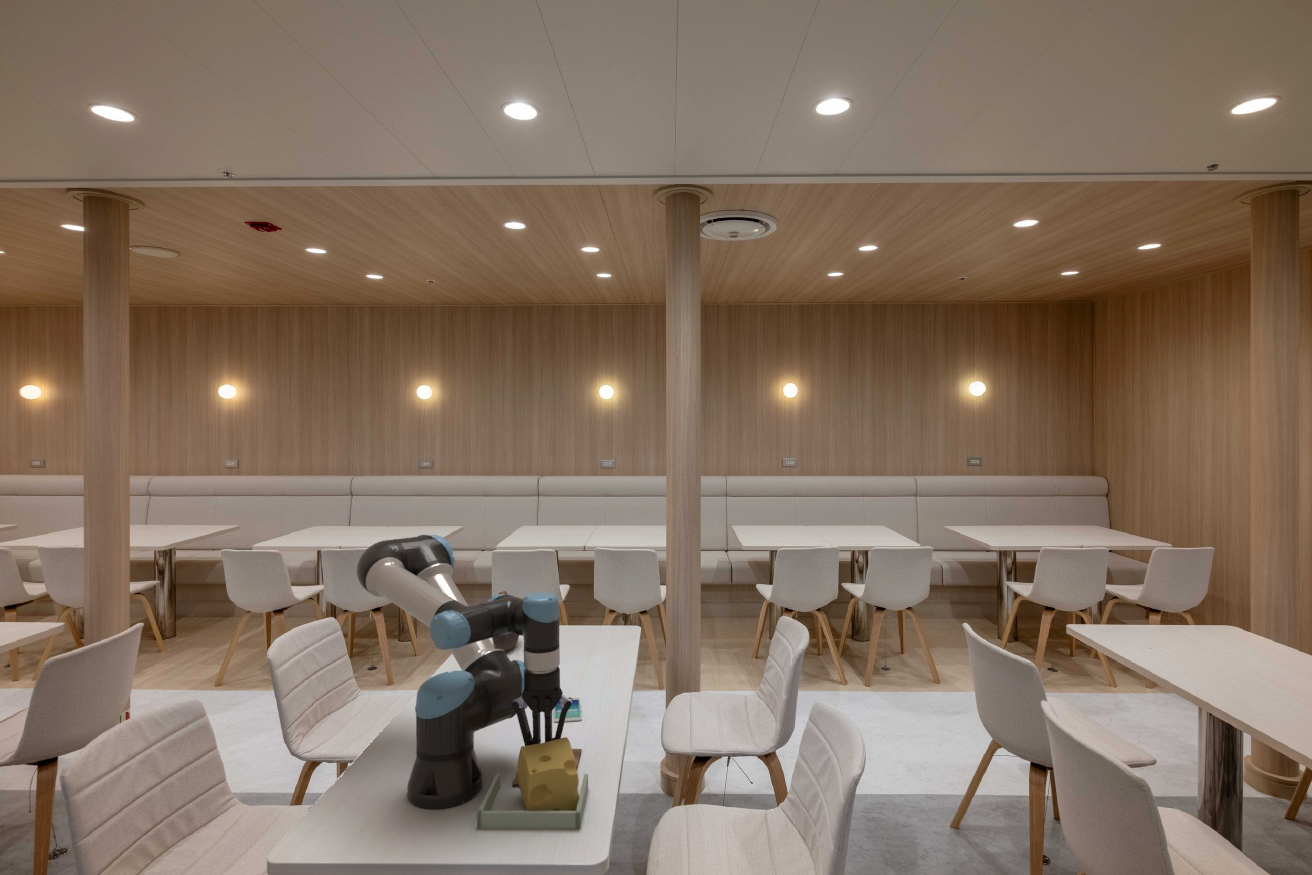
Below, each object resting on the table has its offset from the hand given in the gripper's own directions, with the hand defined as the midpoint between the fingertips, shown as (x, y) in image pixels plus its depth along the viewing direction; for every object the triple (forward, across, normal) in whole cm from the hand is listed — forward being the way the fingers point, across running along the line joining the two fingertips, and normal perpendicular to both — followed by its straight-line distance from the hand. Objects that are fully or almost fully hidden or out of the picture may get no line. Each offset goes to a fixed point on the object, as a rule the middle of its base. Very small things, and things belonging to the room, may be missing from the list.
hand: (543, 777), depth 144 cm
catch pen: (+2, 0, +7) cm, 8 cm away
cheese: (+2, -2, +6) cm, 6 cm away
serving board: (+2, 0, -8) cm, 9 cm away
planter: (+4, +28, -93) cm, 98 cm away
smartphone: (+3, 0, -40) cm, 40 cm away
